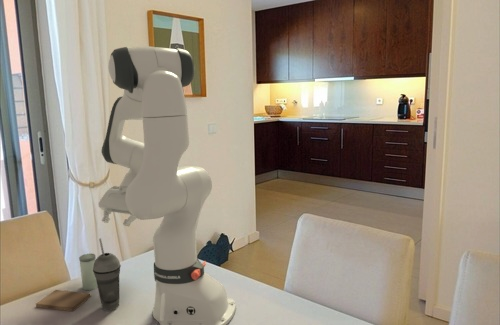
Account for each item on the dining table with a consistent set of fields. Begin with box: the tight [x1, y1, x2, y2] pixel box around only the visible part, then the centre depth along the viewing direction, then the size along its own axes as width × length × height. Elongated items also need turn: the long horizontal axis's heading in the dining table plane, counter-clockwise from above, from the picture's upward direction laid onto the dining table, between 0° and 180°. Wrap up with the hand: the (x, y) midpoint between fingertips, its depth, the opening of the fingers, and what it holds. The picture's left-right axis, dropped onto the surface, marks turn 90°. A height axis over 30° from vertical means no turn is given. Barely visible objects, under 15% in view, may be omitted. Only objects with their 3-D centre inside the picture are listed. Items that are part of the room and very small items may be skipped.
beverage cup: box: [93, 238, 122, 312], centre depth 111 cm, size 7×7×20 cm
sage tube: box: [78, 252, 98, 291], centre depth 124 cm, size 5×5×10 cm
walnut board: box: [35, 289, 92, 312], centre depth 116 cm, size 12×8×1 cm, turn 76°
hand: (115, 223), depth 133 cm, fingers open, 8 cm apart
